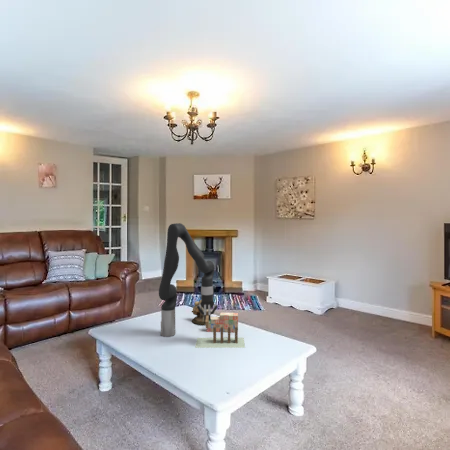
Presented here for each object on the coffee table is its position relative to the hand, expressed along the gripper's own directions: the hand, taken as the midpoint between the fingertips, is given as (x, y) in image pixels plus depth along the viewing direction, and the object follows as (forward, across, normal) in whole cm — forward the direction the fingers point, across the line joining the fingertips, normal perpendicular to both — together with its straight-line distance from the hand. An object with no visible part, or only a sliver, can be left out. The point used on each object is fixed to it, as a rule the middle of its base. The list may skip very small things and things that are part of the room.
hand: (207, 320), depth 203 cm
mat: (+14, +8, -1) cm, 16 cm away
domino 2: (+13, +4, 0) cm, 14 cm away
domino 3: (+14, +9, 0) cm, 16 cm away
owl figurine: (+14, -7, +39) cm, 42 cm away
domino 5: (+14, +18, 0) cm, 22 cm away
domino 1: (+1, 0, -6) cm, 6 cm away
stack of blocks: (+14, +9, +20) cm, 26 cm away
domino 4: (+14, +13, 0) cm, 19 cm away
